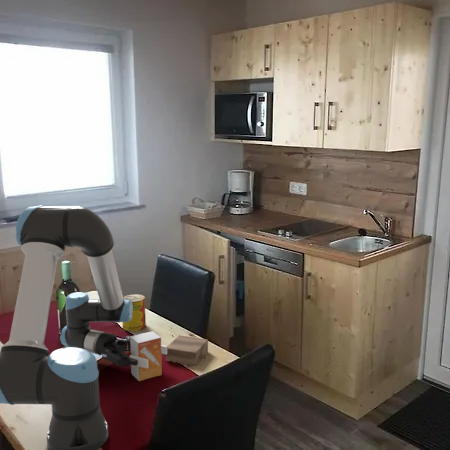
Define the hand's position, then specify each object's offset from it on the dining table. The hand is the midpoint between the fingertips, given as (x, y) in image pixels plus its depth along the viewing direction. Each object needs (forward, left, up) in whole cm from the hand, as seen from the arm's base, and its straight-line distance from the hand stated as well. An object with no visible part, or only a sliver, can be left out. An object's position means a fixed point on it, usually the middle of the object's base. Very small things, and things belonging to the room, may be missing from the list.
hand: (157, 356), depth 163 cm
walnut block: (+17, -1, -7) cm, 19 cm away
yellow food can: (+30, +31, -7) cm, 44 cm away
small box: (0, +4, -7) cm, 8 cm away
